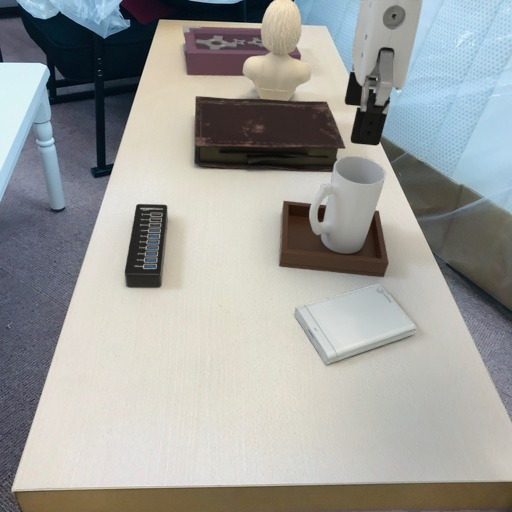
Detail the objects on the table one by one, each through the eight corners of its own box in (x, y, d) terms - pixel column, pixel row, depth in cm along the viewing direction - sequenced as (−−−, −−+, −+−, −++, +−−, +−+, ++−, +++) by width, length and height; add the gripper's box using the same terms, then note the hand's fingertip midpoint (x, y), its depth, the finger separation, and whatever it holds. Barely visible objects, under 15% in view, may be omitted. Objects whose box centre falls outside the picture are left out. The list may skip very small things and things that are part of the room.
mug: (348, 221, 77) (366, 151, 69) (374, 248, 73) (397, 178, 65) (290, 236, 73) (302, 165, 65) (314, 266, 69) (330, 194, 61)
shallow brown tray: (383, 277, 69) (388, 263, 68) (279, 266, 69) (281, 252, 68) (374, 224, 78) (379, 210, 76) (281, 214, 78) (283, 200, 76)
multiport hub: (125, 287, 64) (124, 274, 63) (137, 215, 75) (136, 203, 73) (161, 287, 65) (160, 274, 63) (168, 216, 75) (167, 204, 74)
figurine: (304, 94, 110) (320, -7, 96) (306, 114, 103) (323, 9, 89) (242, 88, 109) (249, -14, 96) (239, 108, 102) (246, 1, 89)
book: (284, 49, 128) (287, 28, 124) (298, 76, 116) (301, 54, 113) (183, 46, 124) (182, 25, 120) (186, 74, 112) (186, 52, 109)
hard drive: (379, 281, 66) (295, 305, 62) (417, 327, 61) (329, 357, 57) (376, 290, 68) (293, 314, 63) (413, 336, 62) (326, 366, 58)
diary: (195, 117, 98) (195, 92, 95) (322, 121, 101) (326, 97, 98) (194, 171, 85) (194, 144, 81) (341, 174, 87) (346, 149, 84)
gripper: (457, -13, 42) (402, 164, 54) (420, -55, 55) (382, 95, 67) (368, -22, 42) (332, 157, 54) (352, -62, 55) (326, 89, 67)
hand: (360, 122), depth 60 cm, fingers open, 9 cm apart
